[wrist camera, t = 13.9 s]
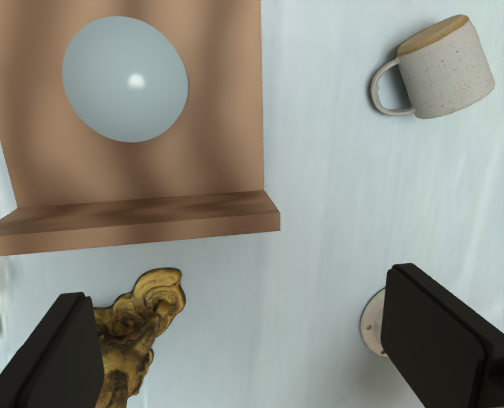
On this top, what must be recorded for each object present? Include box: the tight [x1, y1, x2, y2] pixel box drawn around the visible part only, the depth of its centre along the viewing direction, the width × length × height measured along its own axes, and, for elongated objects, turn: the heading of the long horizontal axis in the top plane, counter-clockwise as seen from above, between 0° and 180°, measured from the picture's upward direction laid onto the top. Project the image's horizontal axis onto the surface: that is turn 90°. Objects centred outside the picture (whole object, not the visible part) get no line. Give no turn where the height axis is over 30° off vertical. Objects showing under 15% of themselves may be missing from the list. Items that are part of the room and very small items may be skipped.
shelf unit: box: [0, 0, 280, 256], centre depth 28 cm, size 20×17×16 cm
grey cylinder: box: [62, 16, 190, 142], centre depth 22 cm, size 6×6×8 cm
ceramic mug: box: [370, 15, 495, 119], centre depth 36 cm, size 11×8×8 cm
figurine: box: [93, 268, 186, 408], centre depth 34 cm, size 13×25×20 cm, turn 138°
